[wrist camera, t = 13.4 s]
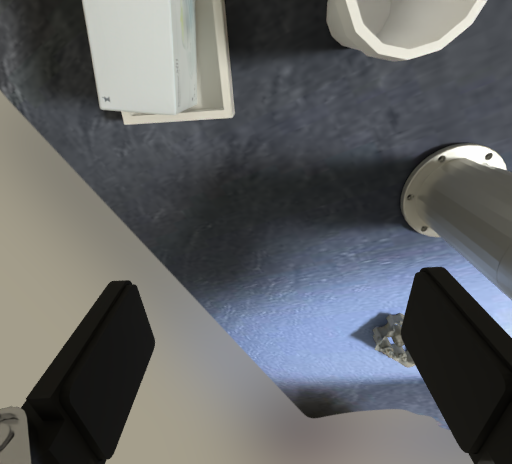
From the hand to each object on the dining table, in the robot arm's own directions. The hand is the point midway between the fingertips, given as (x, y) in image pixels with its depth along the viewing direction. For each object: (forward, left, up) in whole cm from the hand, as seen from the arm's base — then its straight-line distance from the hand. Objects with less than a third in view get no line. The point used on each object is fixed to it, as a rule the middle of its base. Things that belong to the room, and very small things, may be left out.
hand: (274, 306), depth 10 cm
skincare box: (+9, -10, -28) cm, 31 cm away
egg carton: (-23, +35, -29) cm, 50 cm away
